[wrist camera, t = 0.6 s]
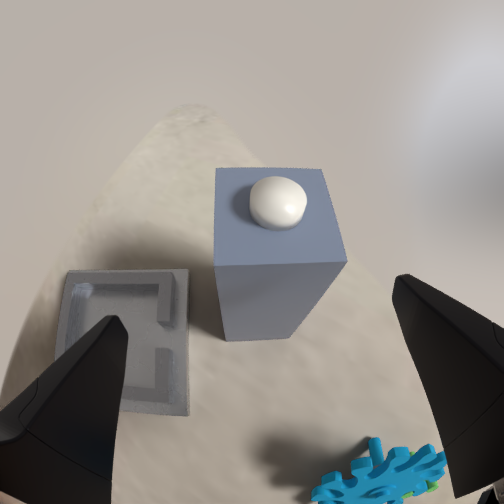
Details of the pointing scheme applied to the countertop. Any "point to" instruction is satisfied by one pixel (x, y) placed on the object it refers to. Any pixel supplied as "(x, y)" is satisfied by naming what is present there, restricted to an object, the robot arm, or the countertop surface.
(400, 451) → the gear
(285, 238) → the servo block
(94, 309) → the grey square tray
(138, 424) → the countertop surface
